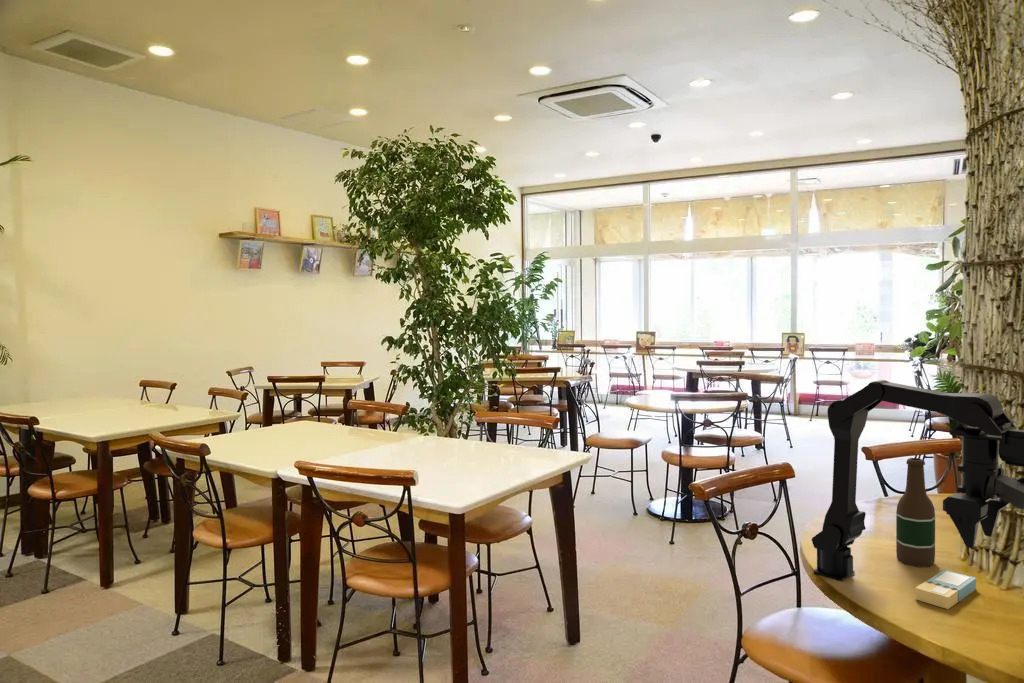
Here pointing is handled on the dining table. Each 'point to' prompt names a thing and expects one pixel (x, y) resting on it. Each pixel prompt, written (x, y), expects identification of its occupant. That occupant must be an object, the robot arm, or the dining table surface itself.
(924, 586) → the stub
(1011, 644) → the dining table surface
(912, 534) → the beer bottle
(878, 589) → the dining table surface
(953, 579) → the pale blue pin-sided card
